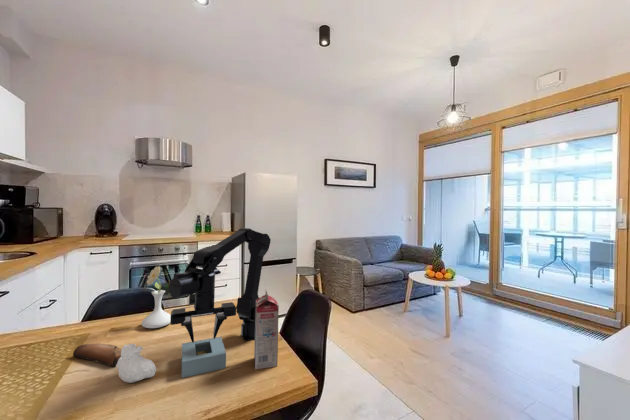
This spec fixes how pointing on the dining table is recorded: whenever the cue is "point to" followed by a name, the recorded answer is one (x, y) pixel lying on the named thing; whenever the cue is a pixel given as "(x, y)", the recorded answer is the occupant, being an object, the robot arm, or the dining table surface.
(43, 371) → the dining table surface
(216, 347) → the blue-grey hollow frame
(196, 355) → the tan wooden post
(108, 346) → the sunglasses case
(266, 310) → the juice carton
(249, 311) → the robot arm
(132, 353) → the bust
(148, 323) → the flower in vase
